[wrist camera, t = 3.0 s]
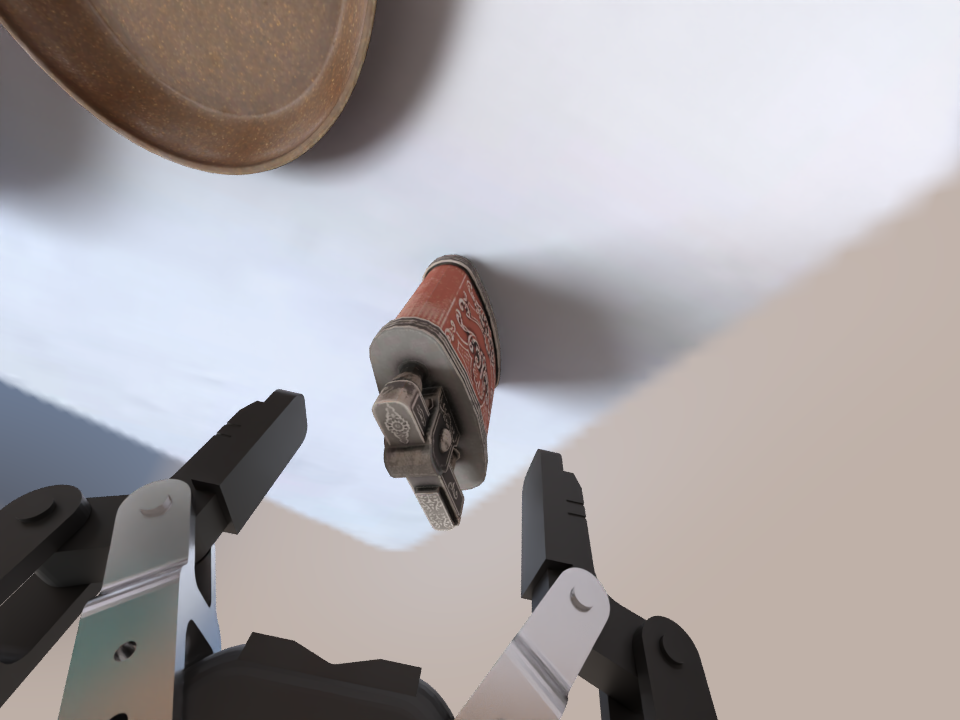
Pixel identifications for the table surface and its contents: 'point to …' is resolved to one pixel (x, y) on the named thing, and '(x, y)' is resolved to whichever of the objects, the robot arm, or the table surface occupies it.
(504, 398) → the table surface
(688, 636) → the robot arm
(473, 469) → the lighter
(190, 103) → the saucer
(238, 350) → the table surface
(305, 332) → the table surface
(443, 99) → the table surface
